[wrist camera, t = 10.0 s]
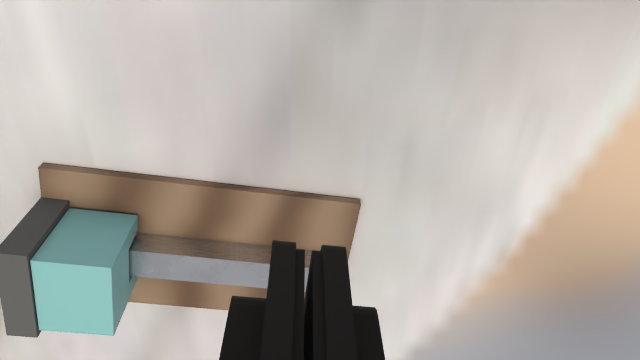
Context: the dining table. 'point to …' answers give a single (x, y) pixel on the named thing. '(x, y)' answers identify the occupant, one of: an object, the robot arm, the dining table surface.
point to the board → (204, 220)
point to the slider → (84, 272)
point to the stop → (25, 265)
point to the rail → (202, 260)
